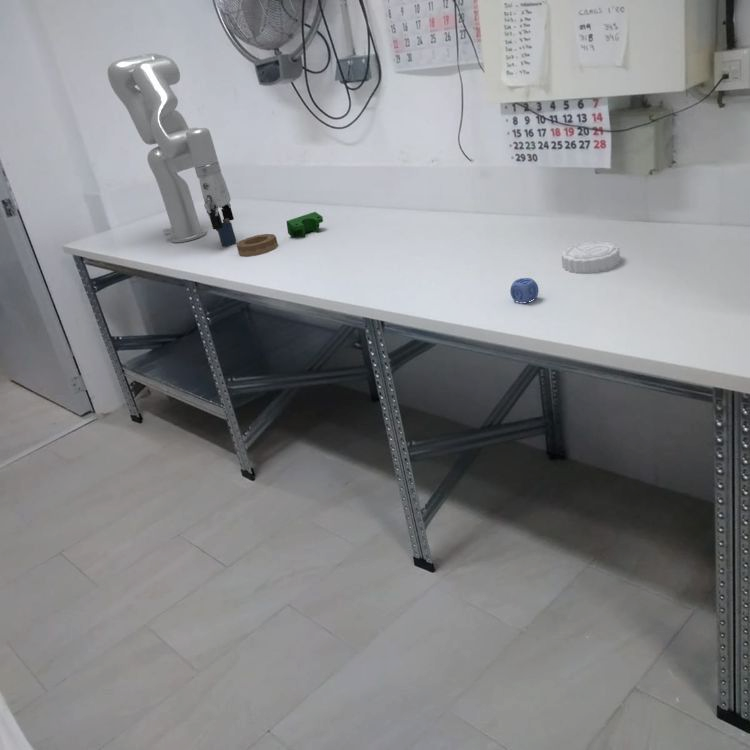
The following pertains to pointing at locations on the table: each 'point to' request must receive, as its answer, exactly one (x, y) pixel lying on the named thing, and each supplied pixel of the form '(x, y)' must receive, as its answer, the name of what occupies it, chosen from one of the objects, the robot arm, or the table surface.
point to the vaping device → (226, 233)
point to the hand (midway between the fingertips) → (223, 224)
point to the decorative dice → (524, 290)
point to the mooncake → (590, 257)
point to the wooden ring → (257, 245)
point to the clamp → (304, 224)
